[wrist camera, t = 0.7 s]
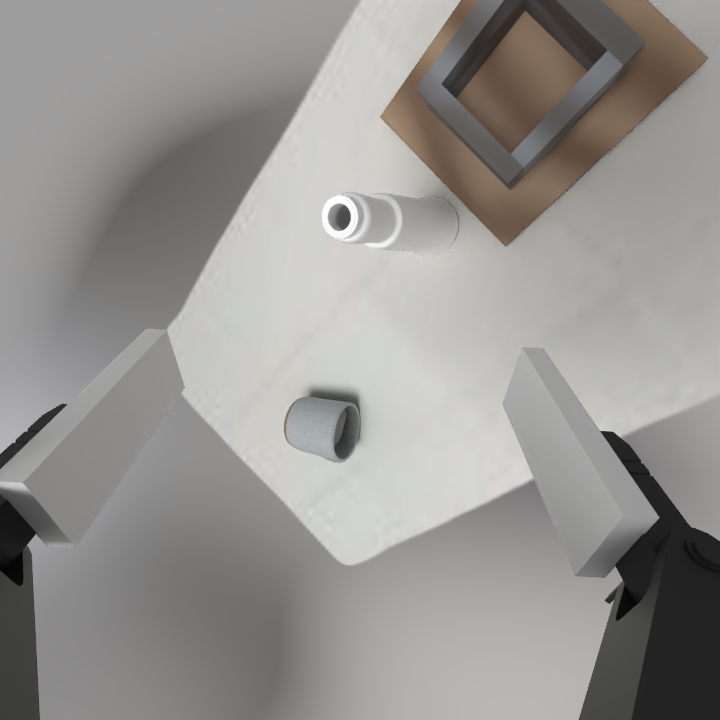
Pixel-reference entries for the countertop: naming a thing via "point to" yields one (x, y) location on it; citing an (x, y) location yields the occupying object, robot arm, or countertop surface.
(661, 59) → the bottle holder
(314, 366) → the countertop surface
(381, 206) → the cosmetic bottle
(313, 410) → the ceramic mug
